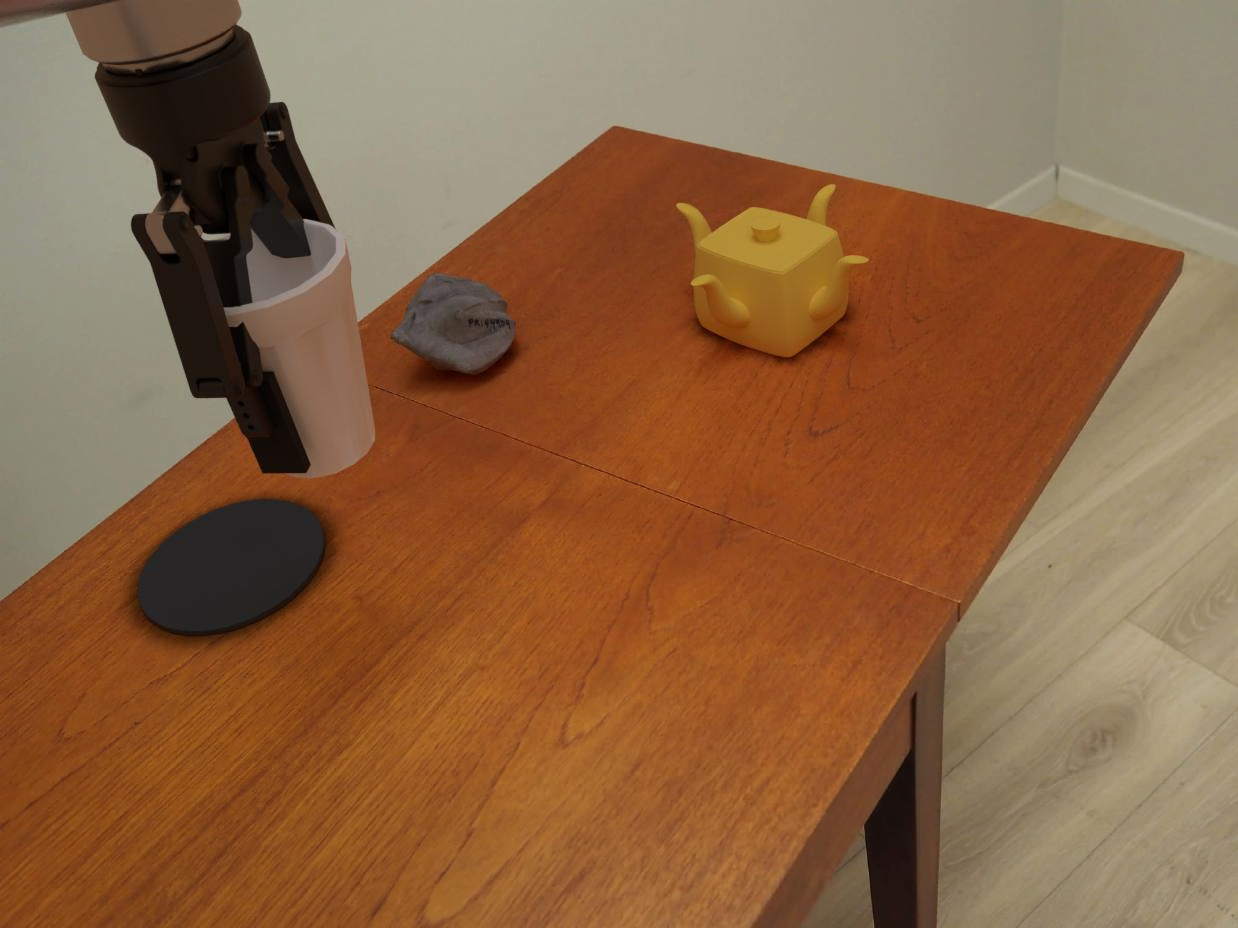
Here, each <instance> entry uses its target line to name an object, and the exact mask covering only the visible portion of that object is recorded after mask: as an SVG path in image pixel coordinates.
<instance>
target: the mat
mask: <svg viewBox="0 0 1238 928" xmlns="http://www.w3.org/2000/svg"><path fill="white" fill-rule="evenodd" d="M325 551H326V536H325V532H324V529H323V526H322V524H321V522H320V520H319V519H318V517H317V516H316V515H315V514H314V513H313V512H312V511H311V510H310V509H308V508H306V507H304V506H302V505H300V504H298V503H295V502H292V501H288V500H285V499H278V498H274V499H273V498H259V499H249V500H243V501H239V502H234V503H230V504H227V505H224V506H221V507H217V508H216V509H213V510H210V511H208V512H206V513H203V514H202V515H199V516H198V517H196V518H194V519H192V520H190V521H189V522H187V523H186V524H184V525H182V526H181V527H179V528H178V529H176V531H174V532H173V533H172V534H170V535H169V536H167V538H166V539H165V540H164V541H163V542H161V544H159V546H158V547H157V548H156V549H155V550H154V551H153V552H152V554H151V555H150V557H149V558H148V559H147V561H146V562H145V564H144V566H143V567H142V570H141V573H140V576H139V578H138V583H137V593H136V594H137V601H138V603H139V606H140V608H141V610H142V612H143V613H144V615H145V616H146V618H147V619H148V620H149V621H150V622H152V624H154V625H155V626H157V627H158V628H160V629H162V630H164V631H167V632H169V633H173V634H177V635H182V636H183V635H184V636H210V635H218V634H222V633H227V632H231V631H234V630H238V629H240V628H243V627H247V626H249V625H252V624H253V623H256V622H259V621H260V620H263V619H264V618H266V617H268V616H270V615H271V614H273V613H276V611H278V610H279V609H281V608H283V607H284V606H286V605H287V604H288V603H289V602H291V601H292V600H293V599H294V598H296V596H297V595H299V594H300V593H301V592H302V591H303V590H304V589H305V588H306V587H307V585H308V584H309V583H310V582H311V580H312V579H313V578H314V576H315V575H316V573H317V572H318V569H319V568H320V566H321V563H322V561H323V559H324V555H325Z"/></svg>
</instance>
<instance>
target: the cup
mask: <svg viewBox="0 0 1238 928" xmlns="http://www.w3.org/2000/svg"><path fill="white" fill-rule="evenodd" d="M303 220H304V229H305V233H306V237H307V240H308V244H309V248H310V252H311V255H310V256H305V257H295V258H281V257H278V256H275V255H272V254H271V253H270V252H269V250H268V249H267V248H266V247H265V245H264V244H263V243H262V241H261V240H260V239H259V238H258V236H257V235H256V234H255V232H254V231H253V230H252V229H251V232H252V239H253V248H252V250H251V251H250V252H249V253H248V254H247V256H246V260H247V267H248V274H249V281H250V288H251V295H252V302H253V303H250V304H246V305H242V306H241V307H228V308H224V311H225V315H226V318H227V322H228V325H229V327H237V326H239V325H240V324H241V323H242V322H244V324H245V326H246V328H247V330H248V332H249V334H250V336H251V338H252V340H253V341H254V342H255V343H256V344H257V346H258V347H259V350H260V357H261V364H262V371H263V372H269V371H274V374H275V376H276V379H277V381H278V384H279V386H280V389H281V391H282V394H283V396H284V399H285V401H286V404H287V406H288V409H289V411H290V414H291V416H292V419H293V421H294V424H295V426H296V429H297V431H298V434H299V436H300V439H301V441H302V444H303V446H304V449H305V451H306V454H307V456H308V459H309V461H310V464H311V466H310V467H309V469H308V471H307V473H284V475H287V476H289V477H292V478H295V479H317V478H322V477H323V478H324V477H328V476H331V475H335V474H337V473H339V472H342V471H343V470H345V469H348V468H349V467H351V466H354V465H355V464H356V463H357V462H358V461H360V460H361V459H362V458H364V457H365V456H366V455H367V454H368V453H369V452H370V450H371V449H372V446H373V445H374V442H375V441H376V426H375V425H376V424H375V419H374V414H373V413H374V412H373V407H372V401H371V396H370V389H369V388H370V387H369V383H368V377H367V370H366V365H365V358H364V353H363V347H362V340H361V334H360V328H359V321H358V315H357V310H356V304H355V298H354V292H353V290H354V289H353V286H352V264H351V259H350V254H349V249H348V244H347V238H346V237H345V236H344V235H343V234H342V233H340V232H339V231H338V229H335V228H336V227H335V228H334V227H332V226H331V225H329V224H325V223H320V222H316V221H312V220H308V219H303ZM229 238H230V234H221V235H219V236H217V237H215V238H212V239H211V240H222V239H229ZM239 363H240V362H239ZM240 364H241V363H240Z"/></svg>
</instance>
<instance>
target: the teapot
mask: <svg viewBox="0 0 1238 928" xmlns="http://www.w3.org/2000/svg"><path fill="white" fill-rule="evenodd" d="M836 188H837V185H836V184H834V183H831V184H827V185H825V186H824V187H822V188H820V190H819V191H818V192H817V193H816V194H815V195H814V197H813V200H812V202H811V203H810V207H809V209H808V212H807V215H806V218H804V217H800V216H796V215H794V214H793V215H792V214H790V213H786V212H781V211H778V210H772V209H770V208H769V209H768V208H763V207H756V206H752V207H748V208H747V209H746V210H743V212H741V213H739V214H738V215H736V216H734V217H733V218H732V219H729V220H728V221H726V222H725V223H724V224H722V225H721V226H719V227H718V228H716V229H715V230H714V231H712V229H711V227H710V225H709V223H708V221H707V220H706V218H705V216H704V215H703V214H702V213H701V211H700V210H699V209H698V208H696V207H695V206H693V205H691V204H689V203H685V202H678V203H676V205H675V207H676V209H677V210H678V212H680V213H681V214H682V215H683V217H684V218H685V219H686V221H687V223H688V224H689V228H690V230H691V234H692V239H693V246H694V253H695V257H694V266H693V279H692V280H691V281H690V285H691V286H692V287H693V305H694V311H695V314H696V317H697V319H698V321H699V324H700V325H701V327H702V328H704V329H706V330H707V331H709V332H711V333H714V334H716V335H718V336H720V337H721V338H724V339H726V340H729V341H731V342H733V343H735V344H738V345H741V346H743V347H747V348H749V349H752V350H756V351H759V352H763V353H765V354H769V355H773V356H776V357H781V358H791V357H795V355H797V354H798V353H800V352H801V351H803V350H804V349H805V348H806V347H808V346H809V345H810V344H812V343H813V342H814V341H816V340H817V339H818V338H819V337H821V336H822V335H824V333H826V332H827V331H828V330H829V329H830V328H831V327H833V326H834V325H835V324H836V323H837V322H838V321H840V320H841V319H842V318H843V317H844V316H845V314H846V312H847V308H848V305H849V304H848V303H849V297H850V295H849V294H850V291H849V290H850V289H849V288H850V287H849V286H850V278H851V275H852V274H851V273H852V272H853V269H855V268H856V267H859V266H861V265H864V264H865V263H868V262H869V258H868V257H866V256H862V255H857V254H855V255H853V254H851V255H844V251H843V246H842V243H841V240H840V235H839V232H838V231H836V229H834V228H831V227H829V226H827V213H828V212H827V211H828V207H829V203H830V200H831V198H832V196H833V194H834V192H836V191H835V190H836Z"/></svg>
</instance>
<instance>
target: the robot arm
mask: <svg viewBox="0 0 1238 928" xmlns="http://www.w3.org/2000/svg"><path fill="white" fill-rule="evenodd" d="M64 14H65V15H66V17H67V19H68V22H69V25H70V28H71V29H72V32H73V34H74V36H75V39H76V41H77V44H78V46H79V49H80V51H81V53H82V55H83V56H85V57H86V58H87V59H89V60H91V61H93V62H96V63H98V64H97V66H96V71H95V73H94V80H95V83H96V84H97V86H98V89H99V91H100V94H101V96H102V98H103V100H104V102H105V105H106V107H107V109H108V112H109V114H110V116H111V118H112V121H113V123H114V126H115V127H116V128H115V129H116V130H117V132H118V135H119V136H120V138H121V139H122V140H123V141H124V142H125V143H126V144H128V145H129V146H132V147H133V148H136V149H137V150H140V151H141V152H142V153H143V154H145V155H146V156H147V157H149V158H150V159H151V161H152V164H153V168H154V172H155V176H156V186H157V191H158V194H159V196H160V199H159V201H158V202H157V204H156V205H155V207H154V209H153V210H152V211H151V212H147V213H135V214H133V216H131V220H130V229H131V233H132V235H133V237H134V238H135V240H136V242H137V243H138V246H140V248H141V250H142V252H143V254H144V255H145V257H146V259H147V261H148V262H149V264H150V266H151V270H152V275H153V277H154V280H155V283H156V286H157V290H158V293H159V296H160V299H161V302H162V305H163V308H164V309H163V310H164V311H165V315H166V317H167V321H168V325H169V327H170V330H171V334H172V337H173V340H174V343H175V346H176V351H177V353H178V356H179V360H180V363H181V365H182V369H183V372H184V375H185V378H186V381H187V385H188V388H189V392H190V394H191V396H192V397H193V398H194V399H226V401H227V403H228V405H229V407H230V410H231V412H232V414H233V417H234V418H235V422H236V423H237V426H238V428H239V430H240V433H241V434H242V435H243V436H244V437H245V438H246V439H247V442H248V444H249V446H250V448H251V451H252V453H253V455H254V457H255V460H256V462H257V464H258V466H259V469H260V471H261V473H262V474H285V473H307V471H308V469H309V467H310V466H311V464H310V461H309V459H308V456H307V454H306V451H305V449H304V446H303V444H302V441H301V439H300V436H299V434H298V431H297V429H296V426H295V424H294V421H293V419H292V416H291V414H290V411H289V409H288V406H287V404H286V401H285V399H284V396H283V394H282V391H281V389H280V386H279V384H278V381H277V379H276V376H275V374H274V371H269V372H263V371H262V364H261V357H260V350H259V347H258V346H257V344H256V343H255V342H254V341H253V340H252V338H251V336H250V334H249V332H248V330H247V328H246V326H245V324H244V322H242V323H241V324H240V325H239V326H237V327H229V325H228V322H227V318H226V315H225V311H224V308H228V307H241V306H242V305H246V304H250V303H253V302H252V295H251V288H250V281H249V274H248V267H247V260H246V256H247V254H248V253H249V252H250V251H251V250H252V248H253V239H252V232H251V229H252V230H253V231H254V232H255V234H256V235H257V236H258V238H259V239H260V240H261V241H262V243H263V244H264V245H265V247H266V248H267V249H268V250H269V252H270V253H271V254H272V255H275V256H278V257H281V258H295V257H305V256H310V255H311V252H310V248H309V244H308V240H307V237H306V233H305V229H304V220H303V219H308V220H312V221H316V222H320V223H325V224H329V225H331V226H332V227H334V228H335V229H336V226H335V224H334V222H333V220H332V217H331V215H330V213H329V210H328V209H327V206H326V204H325V202H324V200H323V198H322V195H321V193H320V191H319V189H318V186H317V183H316V182H315V180H314V177H313V175H312V173H311V171H310V168H309V167H308V164H307V162H306V159H305V157H304V155H303V153H302V151H301V149H300V147H299V144H298V142H297V139H296V135H295V132H294V127H293V123H292V120H291V115H290V111H289V109H288V106H287V104H286V103H285V102H284V101H275V102H274V101H273V102H271V98H272V97H271V96H272V95H271V90H270V87H269V84H268V81H267V77H266V75H265V71H264V69H263V67H262V64H261V60H260V57H259V54H258V52H257V47H256V46H255V43H254V40H253V36H252V35H251V33H250V32H249V31H247V30H246V29H244V28H243V27H242V26H240V25H238V22H239V21H240V19H241V17H242V14H243V11H242V8H241V6H240V2H239V0H0V29H4V28H7V27H12V26H15V25H16V26H17V25H20V24H25V23H29V22H33V21H38V20H42V19H47V18H51V17H55V16H60V15H64ZM336 230H337V229H336ZM203 234H205V235H224V234H230V238H229V239H222V240H212V239H204V238H203V237H202V236H203ZM239 362H240V363H241V364H240V363H239Z"/></svg>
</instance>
